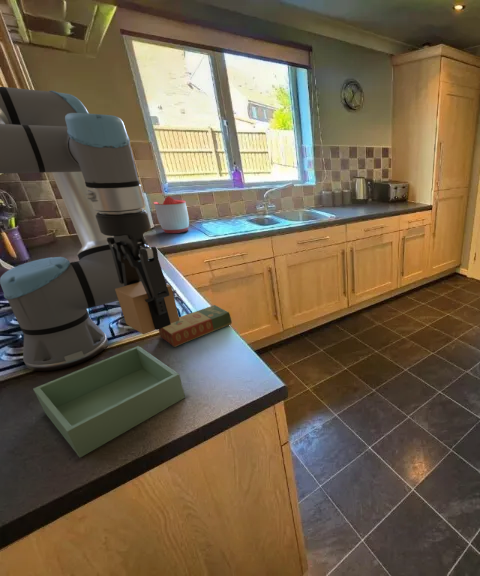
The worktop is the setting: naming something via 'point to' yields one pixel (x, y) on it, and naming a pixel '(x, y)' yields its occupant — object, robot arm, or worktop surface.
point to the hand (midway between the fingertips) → (153, 321)
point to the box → (142, 307)
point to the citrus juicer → (172, 215)
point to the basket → (109, 398)
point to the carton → (195, 325)
